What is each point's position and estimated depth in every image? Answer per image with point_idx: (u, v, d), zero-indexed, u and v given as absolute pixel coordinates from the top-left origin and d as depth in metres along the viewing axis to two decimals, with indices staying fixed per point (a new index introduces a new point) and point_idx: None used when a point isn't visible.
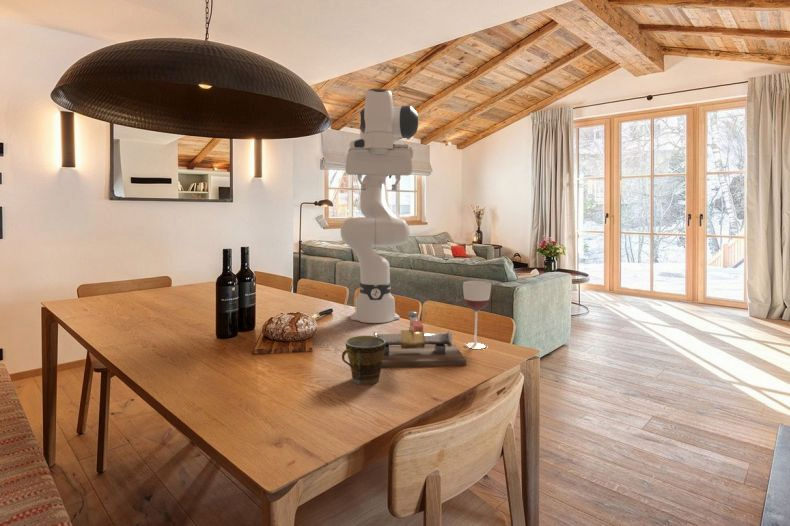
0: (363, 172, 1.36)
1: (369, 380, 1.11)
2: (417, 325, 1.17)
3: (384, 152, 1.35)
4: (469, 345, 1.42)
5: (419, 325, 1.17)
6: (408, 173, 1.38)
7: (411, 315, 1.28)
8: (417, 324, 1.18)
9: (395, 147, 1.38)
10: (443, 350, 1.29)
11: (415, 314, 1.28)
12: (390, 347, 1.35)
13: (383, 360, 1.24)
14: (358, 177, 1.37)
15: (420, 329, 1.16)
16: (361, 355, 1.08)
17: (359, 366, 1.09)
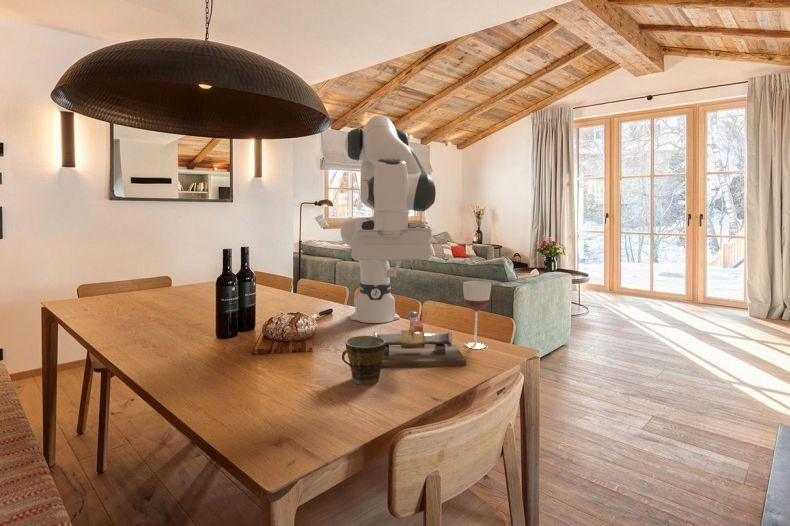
0: (372, 257, 1.14)
1: (369, 380, 1.11)
2: (417, 325, 1.17)
3: (397, 234, 1.13)
4: (469, 345, 1.42)
5: (419, 325, 1.17)
6: (426, 258, 1.16)
7: (411, 315, 1.28)
8: (417, 324, 1.18)
9: (410, 227, 1.15)
10: (443, 350, 1.29)
11: (415, 314, 1.28)
12: (390, 347, 1.35)
13: (383, 360, 1.24)
14: (382, 263, 1.15)
15: (420, 329, 1.16)
16: (361, 355, 1.08)
17: (359, 366, 1.09)
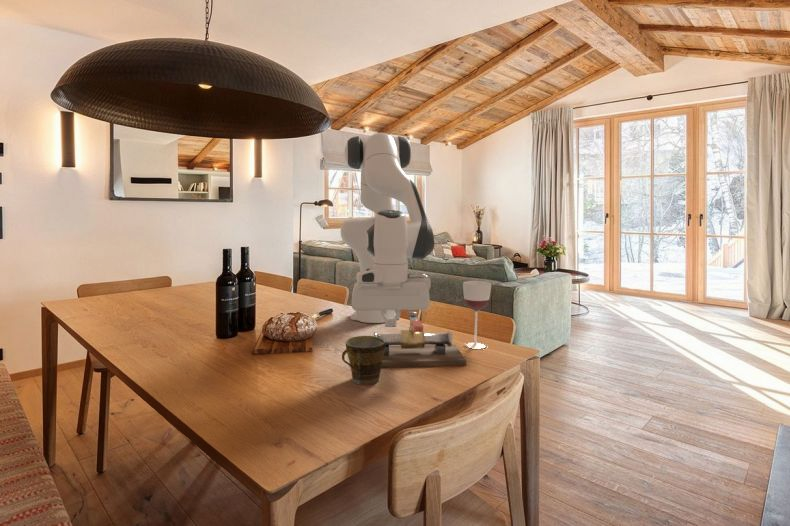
0: (372, 308, 1.16)
1: (369, 380, 1.11)
2: (417, 325, 1.17)
3: (397, 286, 1.15)
4: (469, 345, 1.42)
5: (419, 325, 1.17)
6: (425, 308, 1.17)
7: (411, 315, 1.28)
8: (417, 324, 1.18)
9: (410, 277, 1.17)
10: (443, 350, 1.29)
11: (415, 314, 1.28)
12: (390, 347, 1.35)
13: (383, 360, 1.24)
14: (382, 313, 1.17)
15: (420, 329, 1.16)
16: (361, 355, 1.08)
17: (359, 366, 1.09)
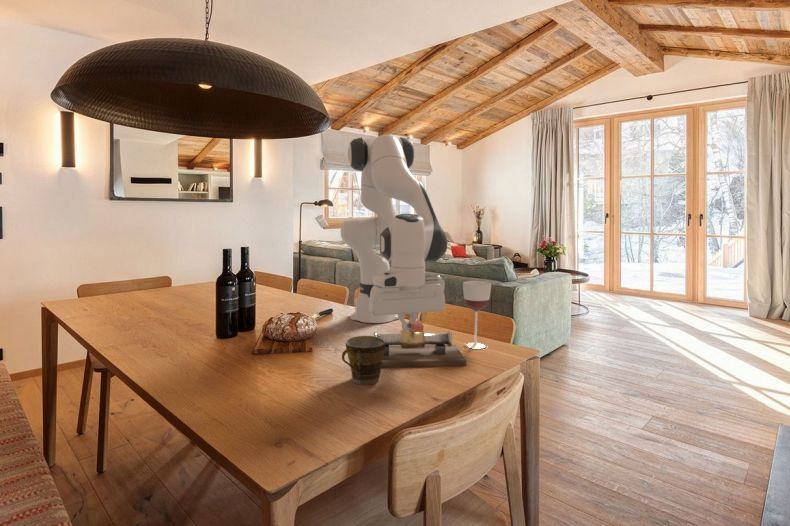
0: (392, 312, 1.15)
1: (369, 380, 1.11)
2: (417, 325, 1.17)
3: (417, 289, 1.16)
4: (469, 345, 1.42)
5: (419, 325, 1.17)
6: (441, 309, 1.20)
7: None
8: (417, 324, 1.18)
9: (426, 280, 1.19)
10: (443, 350, 1.29)
11: None
12: (390, 347, 1.35)
13: (383, 360, 1.24)
14: (401, 316, 1.17)
15: (420, 329, 1.16)
16: (361, 355, 1.08)
17: (359, 366, 1.09)
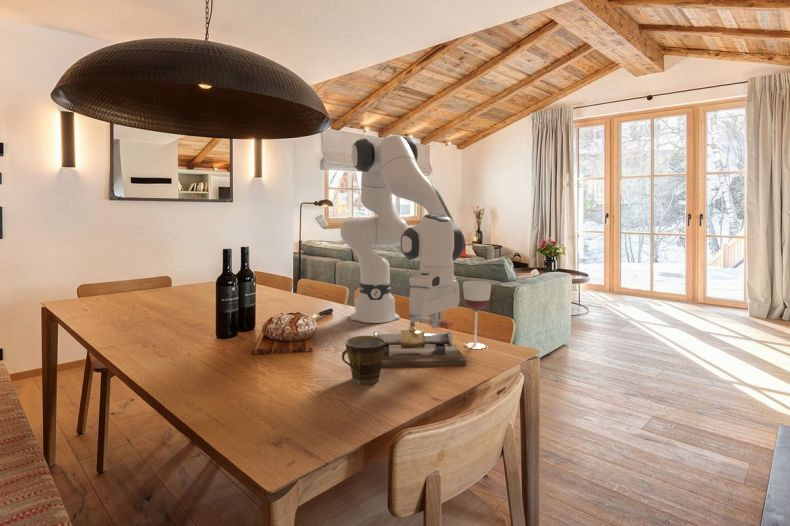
0: (432, 312, 1.16)
1: (369, 380, 1.11)
2: (448, 322, 1.21)
3: (448, 286, 1.20)
4: (469, 345, 1.42)
5: (448, 321, 1.21)
6: (457, 304, 1.27)
7: None
8: (444, 321, 1.22)
9: None
10: (443, 350, 1.29)
11: None
12: (390, 347, 1.35)
13: (383, 360, 1.24)
14: (436, 315, 1.19)
15: (451, 325, 1.21)
16: (361, 355, 1.08)
17: (359, 366, 1.09)
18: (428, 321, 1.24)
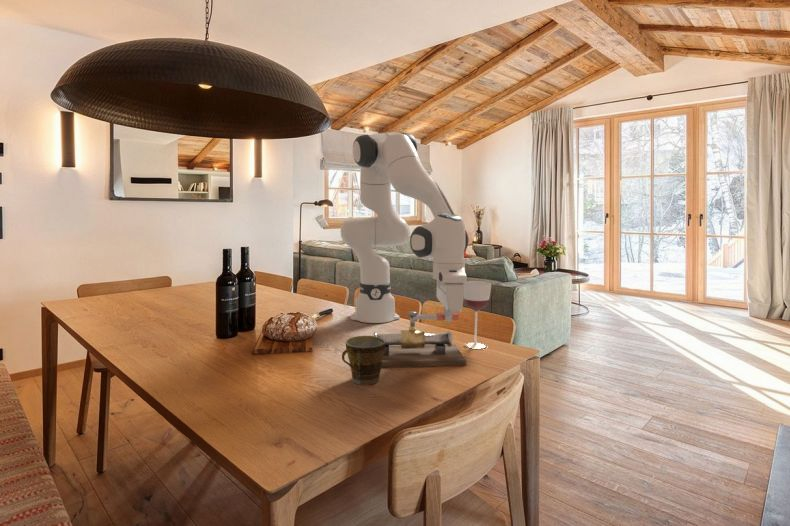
0: None
1: (369, 380, 1.11)
2: (455, 313, 1.30)
3: None
4: (469, 345, 1.42)
5: (454, 313, 1.31)
6: None
7: None
8: None
9: None
10: (443, 350, 1.29)
11: None
12: (390, 347, 1.35)
13: (383, 360, 1.24)
14: None
15: None
16: (361, 355, 1.08)
17: (359, 366, 1.09)
18: (435, 317, 1.29)
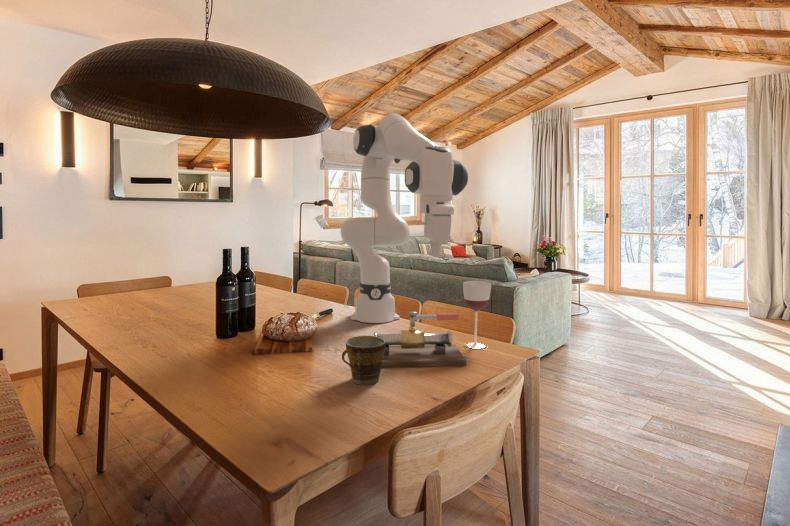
0: None
1: (369, 380, 1.11)
2: (455, 313, 1.30)
3: None
4: (469, 345, 1.42)
5: (454, 313, 1.31)
6: None
7: None
8: (451, 313, 1.30)
9: None
10: (443, 350, 1.29)
11: None
12: (390, 347, 1.35)
13: (383, 360, 1.24)
14: None
15: None
16: (361, 355, 1.08)
17: (359, 366, 1.09)
18: (435, 317, 1.29)
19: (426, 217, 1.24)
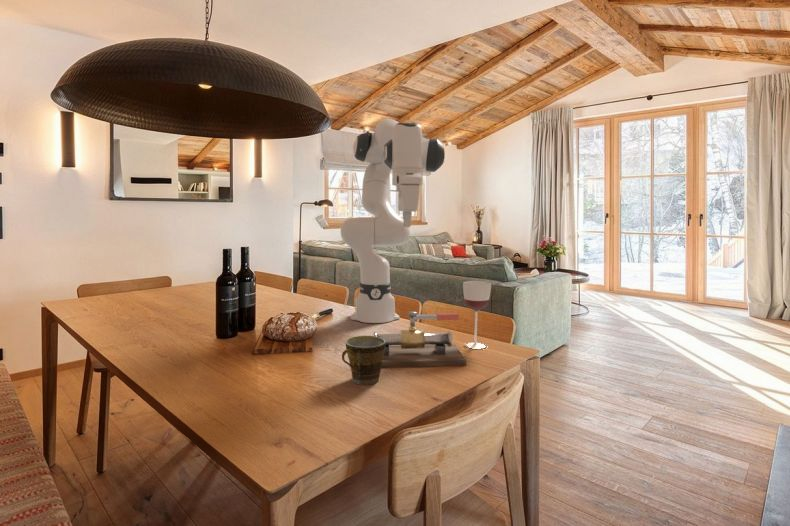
0: None
1: (369, 380, 1.11)
2: (455, 313, 1.30)
3: None
4: (469, 345, 1.42)
5: (454, 313, 1.31)
6: None
7: None
8: (451, 313, 1.30)
9: None
10: (443, 350, 1.29)
11: None
12: (390, 347, 1.35)
13: (383, 360, 1.24)
14: (411, 214, 1.31)
15: None
16: (361, 355, 1.08)
17: (359, 366, 1.09)
18: (435, 317, 1.29)
19: (397, 189, 1.31)
